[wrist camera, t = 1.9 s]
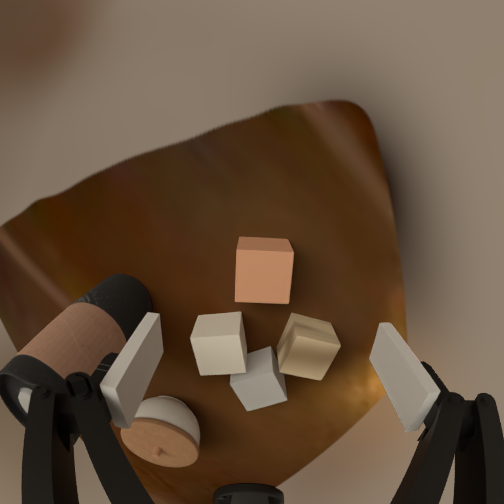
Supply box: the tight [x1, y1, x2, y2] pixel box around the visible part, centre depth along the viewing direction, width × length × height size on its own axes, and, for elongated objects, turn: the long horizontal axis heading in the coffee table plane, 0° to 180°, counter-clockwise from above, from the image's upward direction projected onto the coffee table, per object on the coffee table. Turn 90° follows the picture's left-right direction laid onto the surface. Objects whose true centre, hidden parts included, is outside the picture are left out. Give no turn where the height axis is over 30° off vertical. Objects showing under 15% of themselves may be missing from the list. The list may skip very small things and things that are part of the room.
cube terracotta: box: [235, 237, 294, 304], centre depth 28 cm, size 5×5×5 cm
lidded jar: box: [121, 396, 200, 467], centre depth 33 cm, size 11×11×9 cm
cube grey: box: [230, 346, 287, 411], centre depth 32 cm, size 5×5×5 cm
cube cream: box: [190, 312, 247, 375], centre depth 31 cm, size 5×5×5 cm
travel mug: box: [0, 274, 152, 445], centre depth 23 cm, size 8×8×20 cm
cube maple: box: [277, 313, 341, 380], centre depth 31 cm, size 5×5×5 cm
